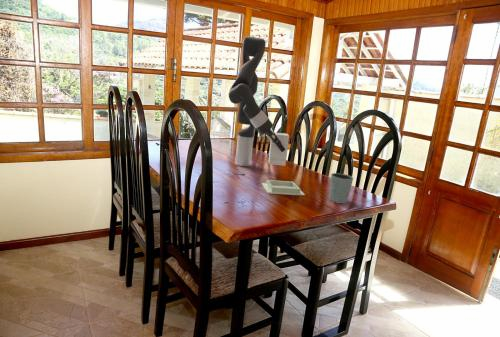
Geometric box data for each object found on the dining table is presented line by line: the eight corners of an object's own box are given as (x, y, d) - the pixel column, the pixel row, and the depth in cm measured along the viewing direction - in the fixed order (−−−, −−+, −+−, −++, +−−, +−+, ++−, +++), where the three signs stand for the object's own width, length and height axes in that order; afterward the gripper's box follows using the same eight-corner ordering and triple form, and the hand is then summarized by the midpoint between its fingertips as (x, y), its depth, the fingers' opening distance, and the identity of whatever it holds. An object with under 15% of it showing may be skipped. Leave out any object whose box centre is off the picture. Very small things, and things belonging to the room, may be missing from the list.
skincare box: (284, 163, 173) (288, 133, 169) (285, 166, 167) (290, 135, 163) (267, 161, 172) (271, 131, 169) (268, 164, 166) (272, 133, 163)
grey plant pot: (338, 205, 158) (343, 179, 155) (322, 197, 166) (326, 173, 163) (352, 202, 164) (357, 178, 161) (336, 195, 172) (340, 172, 169)
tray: (261, 184, 176) (262, 179, 175) (295, 186, 179) (296, 181, 179) (267, 193, 163) (268, 188, 162) (304, 195, 166) (305, 190, 165)
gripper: (270, 119, 156) (292, 147, 161) (264, 115, 170) (284, 141, 175) (257, 129, 156) (279, 157, 161) (252, 125, 170) (272, 151, 175)
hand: (281, 149), depth 168 cm, fingers closed on skincare box, 6 cm apart
